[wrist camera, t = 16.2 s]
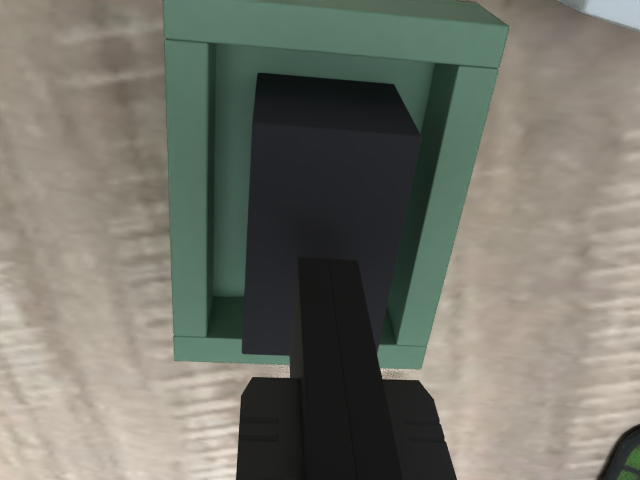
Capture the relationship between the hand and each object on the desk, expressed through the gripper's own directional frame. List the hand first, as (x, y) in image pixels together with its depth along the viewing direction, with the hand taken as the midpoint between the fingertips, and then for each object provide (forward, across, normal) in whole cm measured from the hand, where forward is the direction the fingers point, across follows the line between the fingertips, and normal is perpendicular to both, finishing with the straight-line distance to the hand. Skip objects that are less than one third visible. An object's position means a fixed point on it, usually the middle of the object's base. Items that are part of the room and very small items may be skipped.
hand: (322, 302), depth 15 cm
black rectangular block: (+7, 0, 0) cm, 7 cm away
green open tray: (+8, 0, 0) cm, 8 cm away
